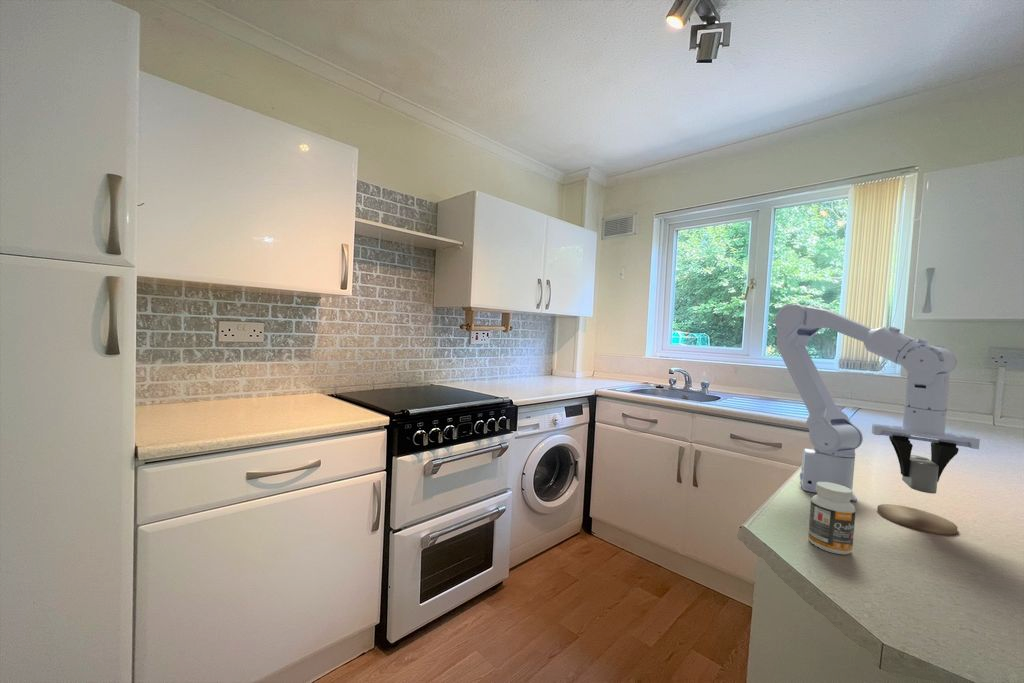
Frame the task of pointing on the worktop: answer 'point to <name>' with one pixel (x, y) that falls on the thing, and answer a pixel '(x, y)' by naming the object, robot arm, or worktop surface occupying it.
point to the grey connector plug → (922, 474)
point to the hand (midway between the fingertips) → (918, 477)
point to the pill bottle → (832, 518)
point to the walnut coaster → (917, 519)
